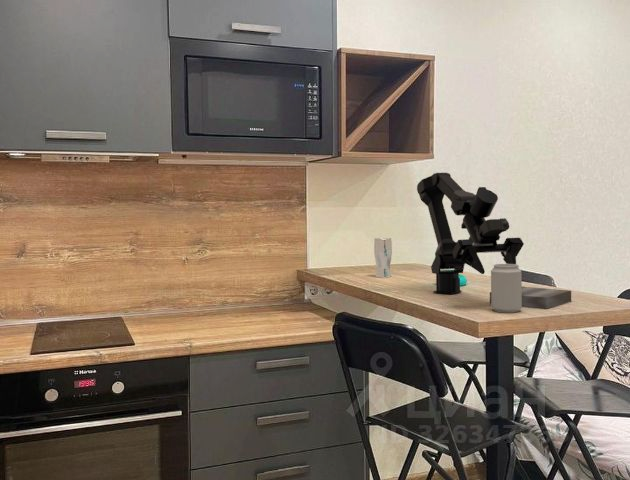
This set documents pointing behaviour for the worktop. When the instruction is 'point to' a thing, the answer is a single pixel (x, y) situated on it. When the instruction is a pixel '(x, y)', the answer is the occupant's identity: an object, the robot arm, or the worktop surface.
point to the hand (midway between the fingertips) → (499, 272)
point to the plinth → (543, 297)
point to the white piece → (383, 256)
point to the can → (506, 288)
